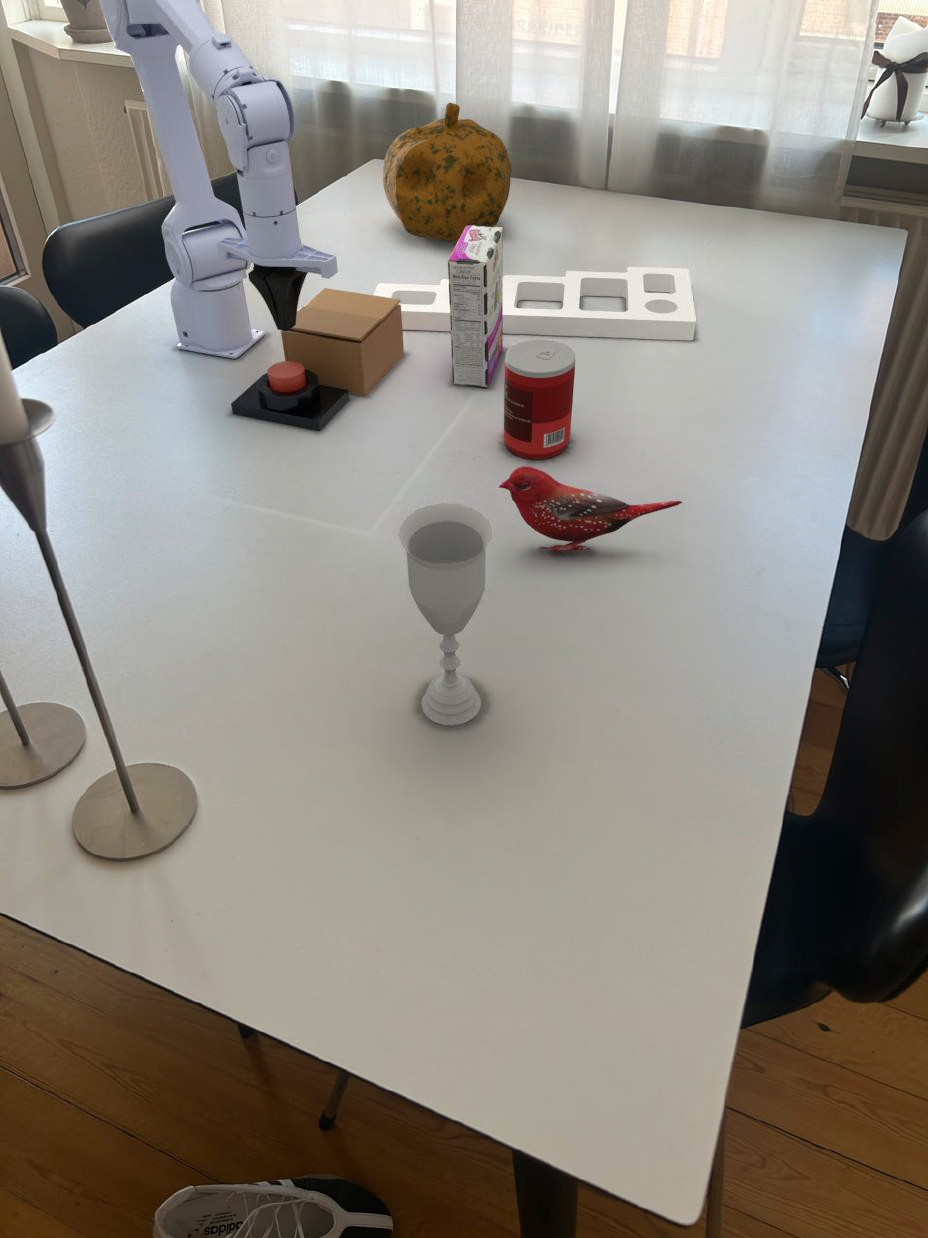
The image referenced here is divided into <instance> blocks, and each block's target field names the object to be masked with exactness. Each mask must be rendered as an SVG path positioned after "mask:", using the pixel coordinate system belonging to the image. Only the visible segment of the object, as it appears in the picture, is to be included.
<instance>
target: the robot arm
mask: <svg viewBox="0 0 928 1238" xmlns="http://www.w3.org/2000/svg"><path fill="white" fill-rule="evenodd" d="M98 1H99V4H100V7H101V11H102V13H103V17H104V20H105V24H106V27H107V30H108V34H109V36H110V38H111V39H112V42H113V46H114V48H115V49H116V50H118V51H121V52H123V53H125V54H128V55H129V57H130V59H131V61H132V65H133V67H134V70H135V72H136V76H137V78H138V83H139V85H140V88H141V91H142V94H143V99H144V101H145V105H146V108H147V111H148V115H149V117H150V120H151V124H152V127H153V131H154V135H155V138H156V141H157V144H158V148H159V151H160V154H161V158H162V161H163V164H164V167H165V170H166V171H165V172H166V174H167V177H168V180H169V184H170V187H171V190H172V194H173V197H174V200H175V203H174V206H173V207H172V208H171V210H170V211H169V213H168V214H167V215H166V217H165V219H164V220H163V222H162V224H161V234H162V238H163V242H164V251H165V257H166V261H167V264H168V266H169V269H170V272H171V273H172V275H173V277H174V278H175V279H174V281H173V283H172V286H171V290H170V305H171V309H172V313H173V318H174V322H175V327H176V331H177V335H178V336H177V337H178V340H179V342H178V343H177V344H176V348H177V349H179V350H184V351H190V352H195V353H201V354H207V355H210V356H211V355H212V356H217V357H223V358H227V359H234V360H235V359H238V358H240V356H242V355H243V354H244V353H245V352H247V351H248V350H249V349H250V348H251V347H253V345H255V344H256V343H257V342H258V341H259V340H261V339H262V338H263V337H264V336H265V335H266V333H265V331H264V330H260V329H256V328H255V329H254V328H252V326H251V321H250V315H249V309H248V303H247V297H246V292H245V286H244V279H247V278H248V280H249V282H250V283H251V285H253V286H254V288H255V289H256V290H257V292H258V293H259V294H260V296H261V297H262V299H263V301H264V303H265V305H266V306H267V308H268V311H269V312H270V315H271V317H272V320H273V321H274V324H275V327H276V329H277V330H278V331H288V330H290V329H291V328H292V327H294V326H295V325H296V315H297V311H298V305H299V300H300V296H301V292H302V288H303V286H304V283H305V280H306V277H307V276H308V273H310V274H316V275H320V277H321V278H323V279H327V280H328V279H331V278H332V277H334V276H335V275H336V274H338V272H339V269H338V260H337V255H336V254H331V253H327V252H324V251H322V250H318V249H317V248H314V247H311V246H309V245H306V244H304V243H302V239H301V235H300V229H299V221H298V212H297V205H296V197H295V195H296V194H295V189H294V181H293V172H292V163H291V156H290V150H289V143H288V142H290V141H292V140H293V139H294V137H295V135H296V130H297V125H296V124H297V123H296V122H297V119H296V111H295V108H294V103H293V101H292V98H291V95H290V93H289V91H288V89H287V88H286V87H285V85H284V82H282V80H281V79H280V78H278V77H272V78H270V76H269V75H261V74H260V72H259V71H258V70H257V69H256V67H255V65H253V63H252V62H251V60H250V59H249V58H248V56H247V55H246V54H245V52H244V51H243V50H242V49H241V48H240V45H238V44H237V42H236V41H235V39H233V38H232V37H231V36H230V35H228V34H226V33H223V32H216V30H215V28H214V26H213V25H212V23H211V22H210V19H209V18H208V16H207V14H206V13H205V11H204V10H203V8H202V6H201V5H200V0H98ZM179 46H180V47H181V48H182V50H183V51H185V52H186V53H187V54H188V56H189V57H188V69H189V72H190V74H191V77H192V78H193V79H194V80H195V82H196V83H197V85H198V87H199V88H200V89H201V91H202V92H203V93H204V94H205V96H206V97H207V99H208V100H209V101H210V103H211V104H212V105H213V107H214V108H215V110H216V112H217V114H216V117H217V121H218V125H219V128H220V132H221V134H222V137H223V139H224V142H225V145H226V148H227V153H228V154H227V155H228V159H229V160H230V164H231V165H232V166H233V167H235V171H236V177H237V184H238V191H239V194H240V201H241V208H242V209H241V210H242V214H243V221H244V225H243V222H242V219H241V217H240V214H239V212H238V210H237V209H236V208H235V207H233V206H232V205H230V204H228V203H227V202H224V201H223V200H221V199H219V198H217V197H216V196H215V194H214V189H213V186H212V182H211V179H210V175H209V172H208V169H207V165H206V161H205V158H204V154H203V151H202V148H201V144H200V140H199V136H198V133H197V129H196V126H195V123H194V119H193V116H192V112H191V108H190V105H189V102H188V97H187V94H186V92H185V88H184V84H183V80H182V77H181V73H180V70H179V66H178V63H177V60H176V53H177V49H178V47H179ZM213 222H218V223H217V224H213V225H209V226H205V227H201V228H196V229H192V230H188V231H186V230H187V229H190V228H191V227H196V226H200V225H205V224H208V223H213ZM244 227H245V228H244ZM252 264H253V266H252V270H250V268H251V265H252ZM248 270H250V271H249V272H248V274H247V271H248Z"/></svg>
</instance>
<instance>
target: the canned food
mask: <svg viewBox="0 0 928 1238" xmlns="http://www.w3.org/2000/svg"><path fill="white" fill-rule="evenodd" d="M503 369H504V374H503V375H504V376H503V380H504V381H503V382H504V383H503V440H504V443H505V446H506V448H507V449H508V451H509V452H511V453H513V455H516V456H518V457H520V458H524V459H530V460H542V459H543V460H544V459H549V458H552V457H555V456H557V455H559V454H561V453H562V452H564V451H565V449H566V448H567V446H568V444H569V442H570V439H571V429H572V428H571V427H572V416H573V415H572V414H573V403H574V402H573V401H574V389H575V375H576V354H575V351H574V349H572V348H571V347H570V346H569V345H567V344H565V343H563V342H560V341H556V340H550V339H531V340H526V341H522V342H519V343H516V344H514V345H512V346H511V347H510V348H509V349H507V350H506V353H505V359H504V368H503Z"/></svg>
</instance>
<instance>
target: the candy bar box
mask: <svg viewBox="0 0 928 1238" xmlns="http://www.w3.org/2000/svg"><path fill="white" fill-rule="evenodd" d="M503 230H504V229H503V227H501V226H493V227H488V226H476V225H470V226H466V227H465V229H464V231H463V233H462V235H461V237H460V238H459V239H458V240H457V241H456V244H455V246H454V248H453V250H452V252H451V254H450V256H449V258H448V259H447V273H448V279H449V302H450V322H451V331H450V341H451V343H450V345H451V368H452V372H451V373H452V384H453V385H455V386H460V387H475V388H489V386H490V383H491V380H492V378H493V375H494V373H495V370H496V367H497V364H498V362H499V359H500V356H501V354H502V351H503V350H504V344H503V342H504V341H503V339H504V338H503V337H504V336H503V335H504V333H503V291H502V287H503V278H504V275H503V254H504V253H503V248H504V247H503Z"/></svg>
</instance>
